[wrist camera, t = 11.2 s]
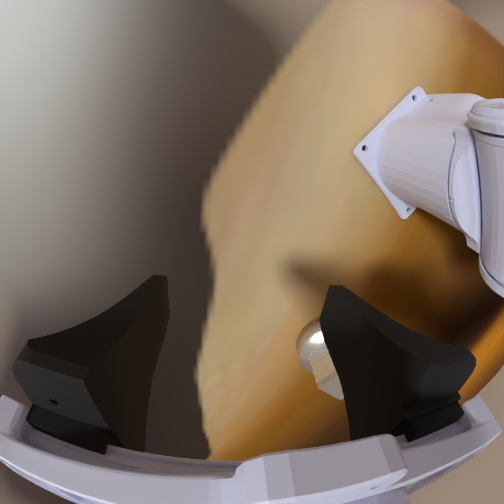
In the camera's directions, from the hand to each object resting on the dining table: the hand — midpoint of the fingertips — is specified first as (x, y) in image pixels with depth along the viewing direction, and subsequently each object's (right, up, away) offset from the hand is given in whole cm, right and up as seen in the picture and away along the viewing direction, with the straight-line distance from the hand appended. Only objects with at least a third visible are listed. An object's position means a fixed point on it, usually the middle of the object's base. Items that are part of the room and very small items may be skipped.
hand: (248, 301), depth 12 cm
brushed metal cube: (+8, -8, +13) cm, 17 cm away
